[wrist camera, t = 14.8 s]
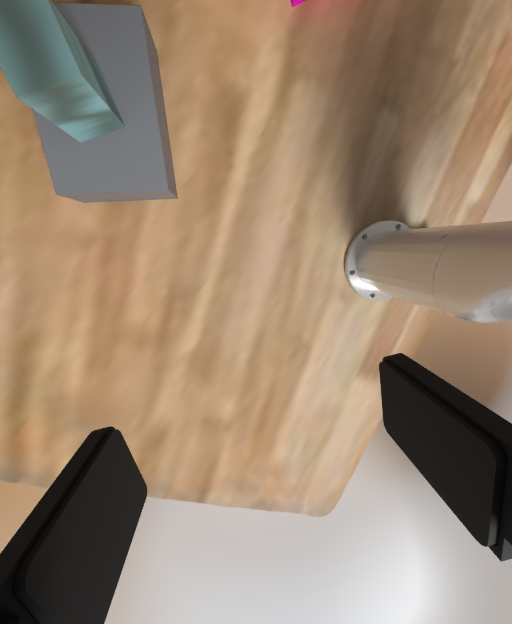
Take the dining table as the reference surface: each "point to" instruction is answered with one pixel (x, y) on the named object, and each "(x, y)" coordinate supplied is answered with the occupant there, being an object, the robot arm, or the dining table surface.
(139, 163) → the plinth
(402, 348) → the dining table surface
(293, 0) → the toy block
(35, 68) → the teal block
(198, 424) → the dining table surface
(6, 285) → the dining table surface
